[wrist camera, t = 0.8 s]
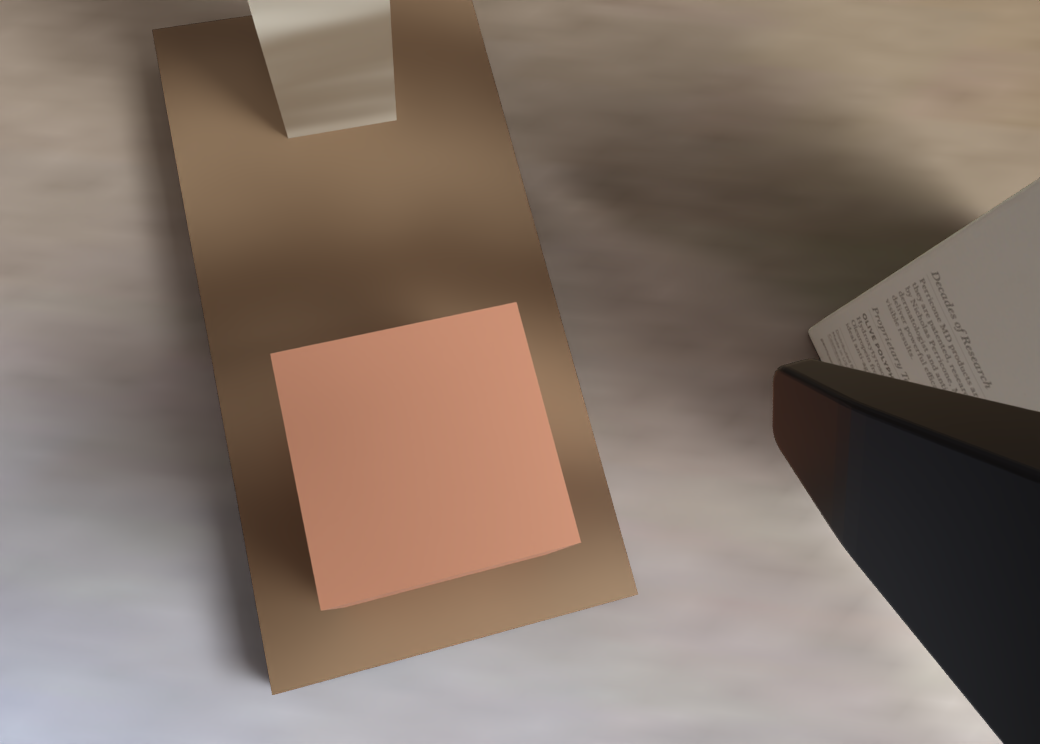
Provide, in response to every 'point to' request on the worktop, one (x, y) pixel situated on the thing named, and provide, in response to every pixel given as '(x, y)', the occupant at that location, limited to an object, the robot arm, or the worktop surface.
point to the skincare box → (955, 312)
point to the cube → (421, 455)
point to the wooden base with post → (365, 285)
